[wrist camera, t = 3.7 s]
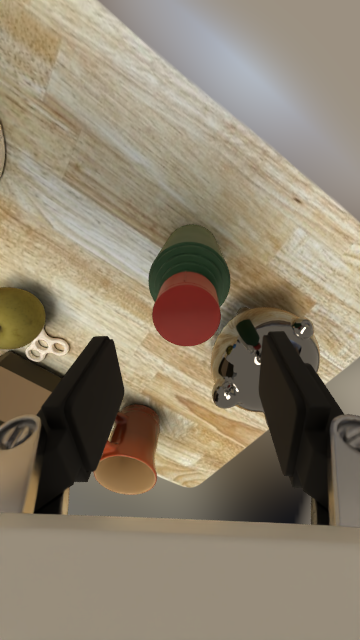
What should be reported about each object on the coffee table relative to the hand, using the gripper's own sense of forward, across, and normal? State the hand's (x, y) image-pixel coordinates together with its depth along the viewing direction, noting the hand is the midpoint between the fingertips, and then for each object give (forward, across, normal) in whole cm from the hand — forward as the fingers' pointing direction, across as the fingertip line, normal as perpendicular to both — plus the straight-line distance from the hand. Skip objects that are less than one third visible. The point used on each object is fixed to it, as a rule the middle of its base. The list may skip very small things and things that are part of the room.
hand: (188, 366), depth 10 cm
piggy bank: (+23, -7, +12) cm, 26 cm away
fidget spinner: (+22, +22, +12) cm, 34 cm away
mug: (+23, +11, +26) cm, 36 cm away
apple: (+22, +23, +6) cm, 33 cm away
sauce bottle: (+22, 0, 0) cm, 22 cm away
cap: (+5, 0, 0) cm, 5 cm away
